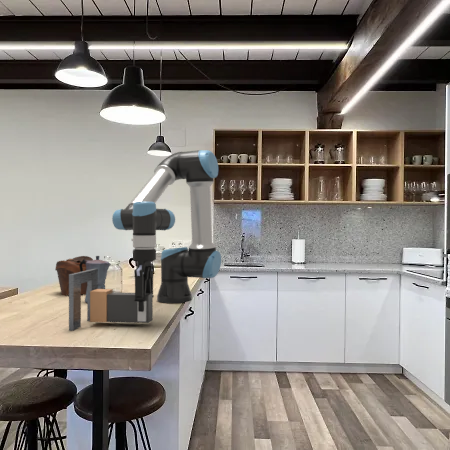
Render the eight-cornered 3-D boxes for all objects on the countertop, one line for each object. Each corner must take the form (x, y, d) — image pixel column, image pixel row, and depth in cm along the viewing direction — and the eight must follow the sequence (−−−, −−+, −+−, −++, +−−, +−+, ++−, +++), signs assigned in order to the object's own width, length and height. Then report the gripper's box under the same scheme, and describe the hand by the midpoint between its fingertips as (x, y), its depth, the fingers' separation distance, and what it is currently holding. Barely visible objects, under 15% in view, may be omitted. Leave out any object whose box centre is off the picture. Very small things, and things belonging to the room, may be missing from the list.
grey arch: (97, 317, 147) (97, 268, 147) (73, 330, 129) (73, 274, 129) (93, 317, 147) (93, 268, 147) (68, 330, 129) (68, 274, 129)
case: (55, 297, 188) (56, 258, 189) (54, 291, 207) (55, 255, 207) (96, 295, 195) (96, 257, 196) (91, 290, 214) (92, 255, 214)
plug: (152, 319, 138) (153, 289, 138) (148, 323, 133) (148, 292, 133) (97, 318, 141) (97, 288, 141) (90, 321, 135) (90, 291, 135)
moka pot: (105, 304, 172) (105, 256, 172) (72, 303, 175) (72, 256, 175) (116, 300, 181) (116, 255, 182) (84, 299, 185) (84, 254, 185)
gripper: (141, 247, 145) (141, 313, 145) (123, 249, 128) (123, 325, 128) (162, 247, 144) (162, 313, 144) (147, 250, 127) (147, 326, 127)
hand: (144, 319), depth 136 cm, fingers closed on plug, 4 cm apart
